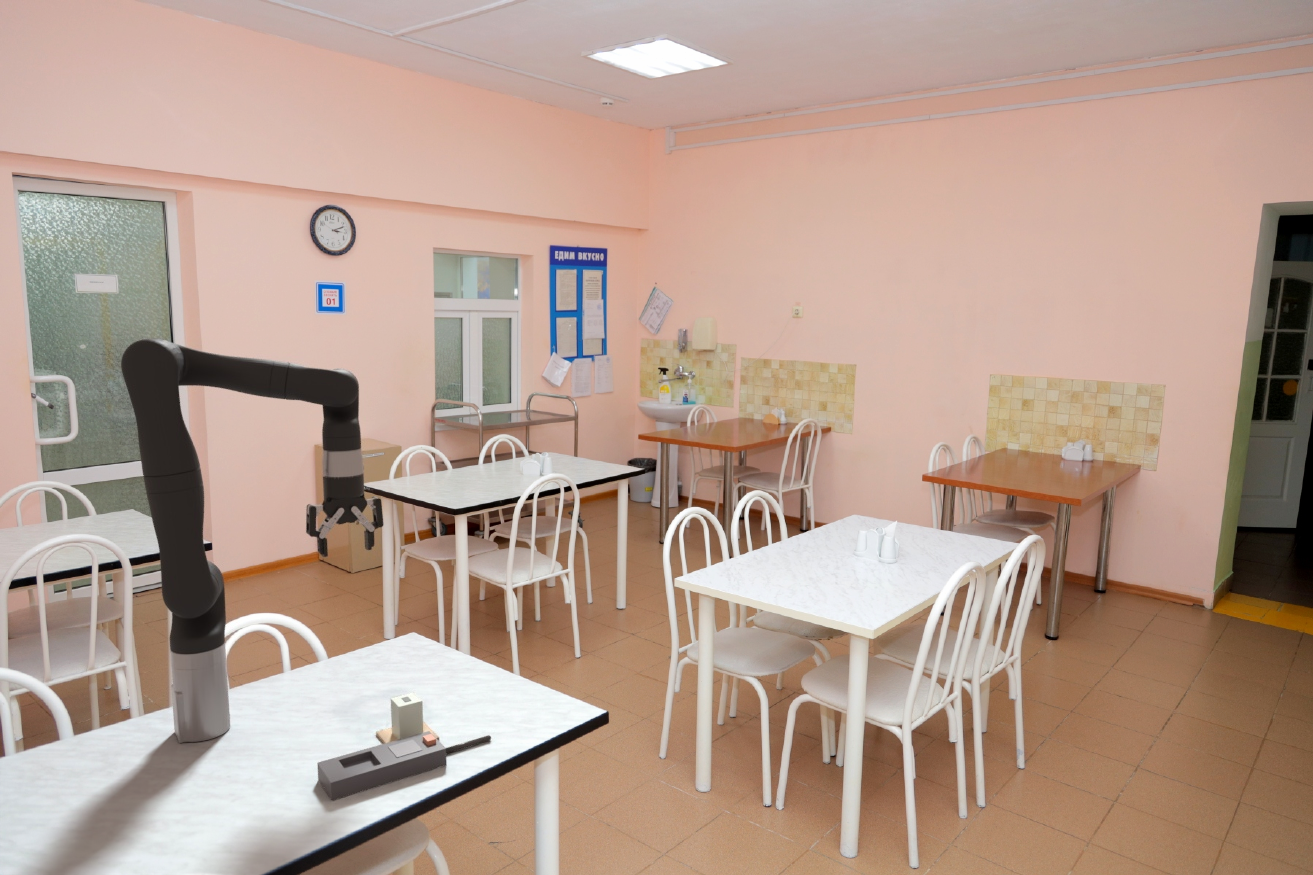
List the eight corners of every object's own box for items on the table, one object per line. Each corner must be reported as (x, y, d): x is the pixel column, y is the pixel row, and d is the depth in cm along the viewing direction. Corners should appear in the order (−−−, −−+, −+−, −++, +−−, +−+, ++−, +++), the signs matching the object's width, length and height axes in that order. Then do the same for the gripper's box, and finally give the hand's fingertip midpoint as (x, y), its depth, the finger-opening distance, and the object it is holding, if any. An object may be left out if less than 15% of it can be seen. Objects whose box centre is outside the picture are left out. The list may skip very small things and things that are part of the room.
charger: (400, 742, 161) (398, 706, 160) (391, 732, 165) (390, 697, 164) (423, 735, 164) (422, 700, 163) (414, 726, 168) (413, 691, 167)
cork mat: (392, 753, 158) (392, 750, 158) (376, 734, 166) (376, 731, 166) (439, 740, 164) (439, 737, 164) (421, 722, 171) (421, 719, 171)
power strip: (331, 800, 143) (330, 778, 142) (318, 779, 149) (317, 758, 149) (500, 748, 161) (499, 727, 160) (481, 731, 167) (481, 712, 167)
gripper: (373, 465, 176) (376, 543, 178) (299, 472, 167) (303, 554, 170) (385, 471, 170) (388, 551, 172) (310, 478, 161) (314, 562, 164)
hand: (346, 552), depth 171 cm, fingers open, 8 cm apart
